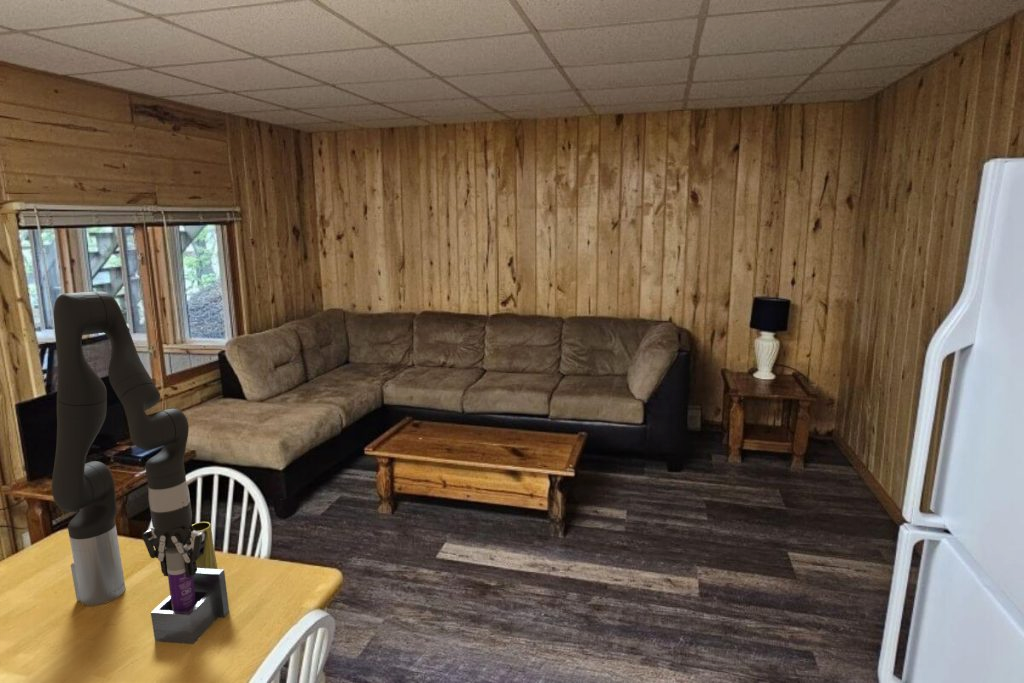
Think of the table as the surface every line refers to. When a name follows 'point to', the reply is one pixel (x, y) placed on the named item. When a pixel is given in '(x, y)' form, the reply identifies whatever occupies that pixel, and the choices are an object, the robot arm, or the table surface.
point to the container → (179, 582)
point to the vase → (206, 547)
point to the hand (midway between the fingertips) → (180, 574)
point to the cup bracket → (193, 610)
